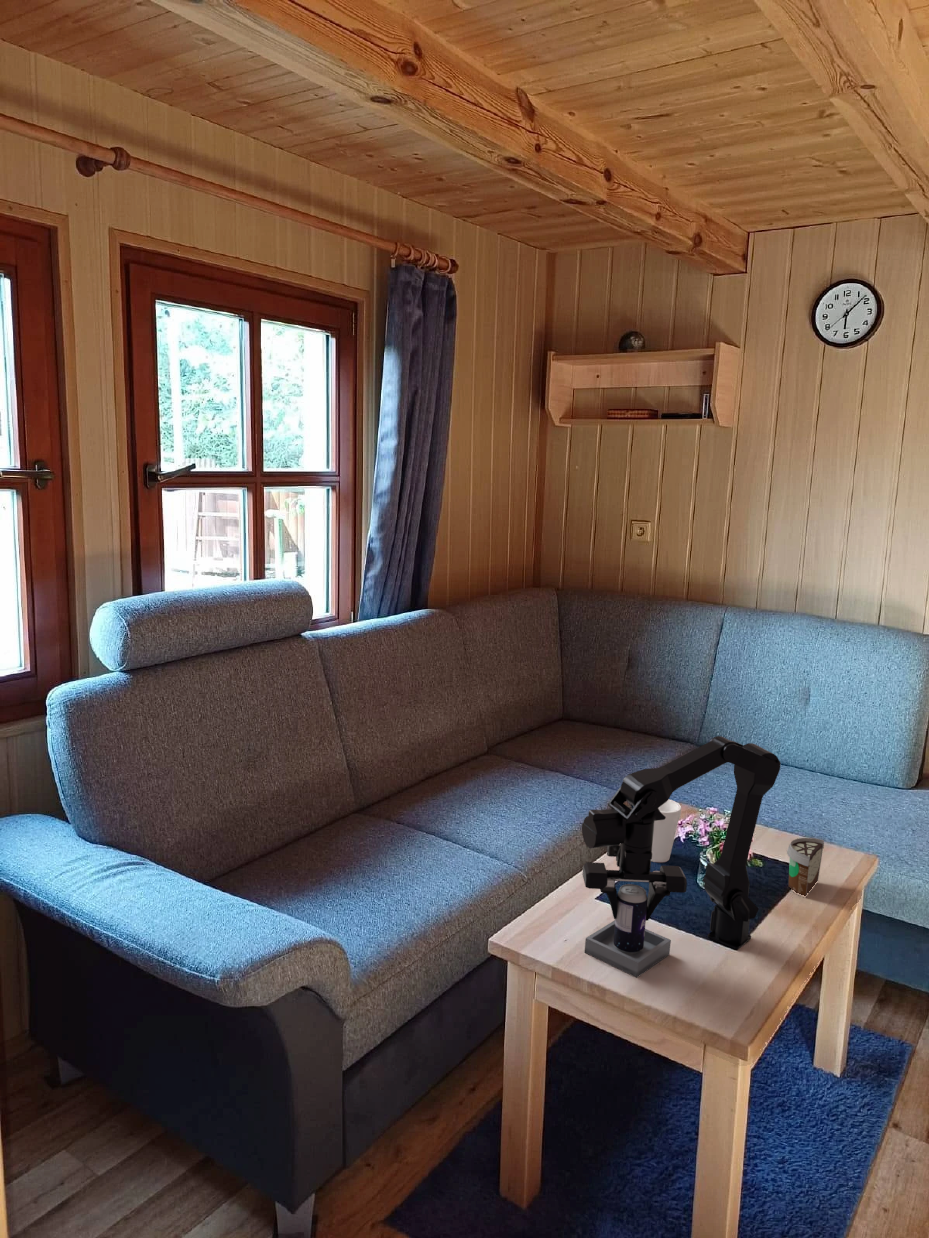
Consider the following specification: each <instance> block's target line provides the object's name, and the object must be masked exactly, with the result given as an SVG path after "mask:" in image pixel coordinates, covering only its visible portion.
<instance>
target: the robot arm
mask: <svg viewBox="0 0 929 1238" xmlns="http://www.w3.org/2000/svg"><path fill="white" fill-rule="evenodd" d="M726 763H730V764H732V765H733V776H734V780H735V785H736V792H735V796H734V799H733V804H732V808H731V811H730V813H731V814H730V817H729V820H728V825H727V828H726V832H725V837H724V841H723V844H722V848H721V853H720V856H719V858H718V859H717V860H716V861H715V862H714V863H711V862H707V863H706V865H705V873H704V877H703V878H702V882H703V883H704V884H703V887H704V890H705V892H706V893H707V895H708V896H709V899H710V901H711V902H712V903H714V904H715V905H714V906H713V908H714V909H713V910H712V911H711V913H710V914H711V916H710V924H709V931H710V932H709V933H708V934H707V938H708V939H711V940H713V941H716V942H718V943H719V944H722V945H725V946H728V947H729V948H731V949H734V950H739V949H740V948H742V947H743V946H744V945H745V944H746V943H747V942H749V941H750V940H751V939H752V935H751V934H749V929H750V924H751V922H750V920H751V919H752V920H753V919H756V917H757V915H758V912H759V907H758V906H757V904H755V903H754V902H753V901H752V899H750V897H749V891H750V880H749V874H748V869H747V862H748V858H749V854H750V850H751V847H752V841H753V838H754V835H755V829H756V825H757V821H758V818H759V813H760V811H761V810H760V809H761V806H762V801H763V797H764V796H765V795H766V794H767V793H768V792H769V791H770V789H772V788H773V787H774V785H775V782H776V780H777V779H778V776H779V773H780V771H781V766H782V765H781V760H780V759H779V758H778V756H777V755H776V754H775V753H774V752H773V753H772V752H770V750H767V749H765V748H763V747H761V746H759V745H757V744H756V743H751V742H749V743H746V744H742V743H739V742H737V741H734V740H730V739H728V738H726V737H724V736H723V735H722V736H720V735H717V736H714V737H711V739H710V740H709V741H708V742H706V743H705V744H703V745H700V746H699V747H697V748H695V749H693V750H691V751H689V752H687V753H685V754H683V755H682V756H680V757H677V758H675V759H674V760H672V761H670V762H668V763H666V764H665V765H662V766H659V767H653V768H652V767H651V768H644V769H640V770H637V771H634V772H631V773H629V774H628V775H625V776H624V778H623V779H622V783H621V785H620V787H619V788H618V789H617V791H616V792H615V793H614V795H613V796H612V797H611V798H610V800H609V802H608V803H607V807H609V809H608V808H607V809H589V810H588V816H586V817H585V818H584V819H583V822H582V823H581V833H582V839H583V842H584V844H585V846H586V847H587V848H589V849H595V848H604V847H606V855H607V856H608V857H610V858H612V857H613V858H615V861H616V866H617V867H618V870H617V869H607V868H606V865H605V863H604V862H594V861H593V862H592V861H591V862H590V861H589V862H588V861H586V862H585V863H584V864H583V866H582V878H583V882H584V885H585V886H584V887H585V888H586V889H592V890H600V893H603V894H606V896H607V899H608V901H609V904H610V909H611V912H612V918H613V919H614V920H615V919H616V917H617V893H618V890H617V888H616V885H615V884H616V882H631V883H648V893H647V898H648V900H647V912H646V922H647V921H649V920H650V918H651V916H652V915H653V913H654V911H655V910H656V908H657V907H658V905H659V904H660V903H661V902H662V900H663V899H664V898H665V897H670V896H671V893H680V894H681V893H682V894H683V893H686V892H687V884H688V881H687V877H686V875H685V873H684V871H683V869H682V868H681V867H680V866H679V865H660V867H659V870H653V871H651V865H652V861H651V859H652V843H653V832H654V821H657V820H665V818H666V817H665V816H664V815H663V814H662V813H661V812H660V811H659V809H658V808H659V807H660V806H661V805H663V804H664V803H665V802H667V801H668V799H669V800H670V798H671V796H672V795H673V793H674V792H676V790H678V789H680V788H681V787H683V786H685V785H688V784H689V783H691V782H693V781H695V780H697V779H698V778H700V777H703V776H705V775H707V774H708V773H709V772H711V771H713V770H715V769H718V767H721V766H723V765H725V764H726ZM626 802H627V803H628V804H630V805H631V806H633V807H632V809H631V807H628V806H627V805H626V804H625V803H626Z"/></svg>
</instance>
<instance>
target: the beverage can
mask: <svg viewBox="0 0 929 1238" xmlns="http://www.w3.org/2000/svg"><path fill="white" fill-rule="evenodd" d="M647 900H648V894H647V890H646V889H645V888H644V887H642V886H641V885H637V884H633V883H627V884H623V885H621V886H620V887H619V890H618V891H617V917H616V919H614V920H615V928H614V941H613V943H614V945H615V946H616V947H617V949H618V950H619V951H620V952H622V953H625V954H636V953H638V952H639V951H640V950H642V949H643V946H644V935H645V929H646V922H647V921H646V912H647Z"/></svg>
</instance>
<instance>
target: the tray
mask: <svg viewBox="0 0 929 1238" xmlns="http://www.w3.org/2000/svg"><path fill="white" fill-rule="evenodd" d="M614 928H615V919H614V920H613V921H611V922H609V923H607V924H606V925H604V926H603V927H602V928H600V929H598V930H596V931H595V932H593V933H592V934H590V935H588V936H587V937H585V941H584V942H585V943H584V953H585V954H587V955H588V956H591V955H592V956H591V957H593V958H595V959H597V960H599V961H601V962H603V963H605V964H608V965H609V966H612V967H614V968H616V969H618V970H619V971H622V972H624V973H625V974H628V975H630V976H632V977H634V978H635V979H636V978H639V977H640V976H641V975H642V974H644V973H645V972H647V971H648V970H650V969H651V968H652V967H654V966H655V965H657V964H658V963H659V962H661V961H662V960H664V959H665V958H667V957H668V956H670V952H671V943H672V942H671V941H672V940H671V939H669V938H667V937H666V936H663V935H660V934H658V933H657V932H654V931H652V930H649V929H647V928H645V935H644V946H643V949H642V950H640V951H639V952H638V953H636V954H625V953H622V952H620V951H619V950H618V949H617V947H616V946H615V945H614V943H613V941H614Z"/></svg>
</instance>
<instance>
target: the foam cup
mask: <svg viewBox="0 0 929 1238" xmlns="http://www.w3.org/2000/svg"><path fill="white" fill-rule="evenodd" d="M658 809H659V811H660V812H661V813H662V814H663V815H664V816H665V817H666V818H665V820H657V821H654V832H653V843H652V859H651V862H653V863H666V862H668V861H669V860H670V857H671V854H672V850H673V845H674V843H675V842H674V841H675V838H676V837H675V836H676V832H677V828H678V824H679V820H680V819H681V815H682V806H681V805H680V803H679V802H677V801H675V800H673V799H670V798H669V799H668V801H667V802H665V803H664V804H663V805H661V806H660V807H659V808H658Z"/></svg>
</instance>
